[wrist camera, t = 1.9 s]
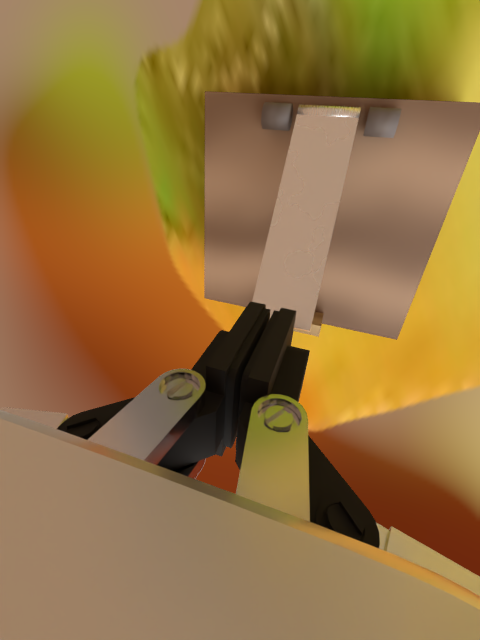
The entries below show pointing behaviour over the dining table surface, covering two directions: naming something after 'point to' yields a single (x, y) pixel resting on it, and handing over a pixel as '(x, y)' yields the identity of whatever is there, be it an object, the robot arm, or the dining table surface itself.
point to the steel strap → (306, 210)
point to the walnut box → (355, 204)
